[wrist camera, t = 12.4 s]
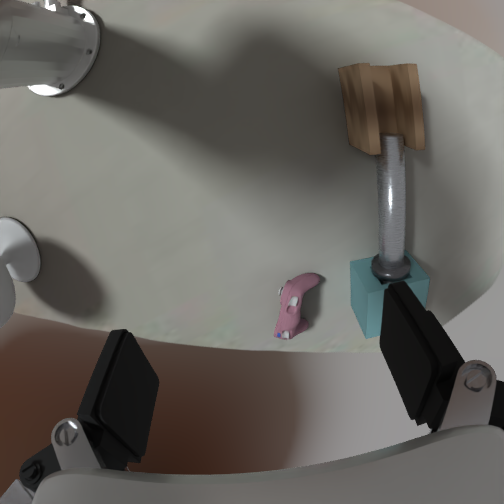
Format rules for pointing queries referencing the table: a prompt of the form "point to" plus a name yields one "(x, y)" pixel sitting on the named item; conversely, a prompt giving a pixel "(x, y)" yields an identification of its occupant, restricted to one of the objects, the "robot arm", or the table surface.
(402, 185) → the rod
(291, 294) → the video game controller
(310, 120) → the table surface
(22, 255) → the chalice
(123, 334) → the robot arm
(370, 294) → the socket block
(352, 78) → the wooden cradle block
